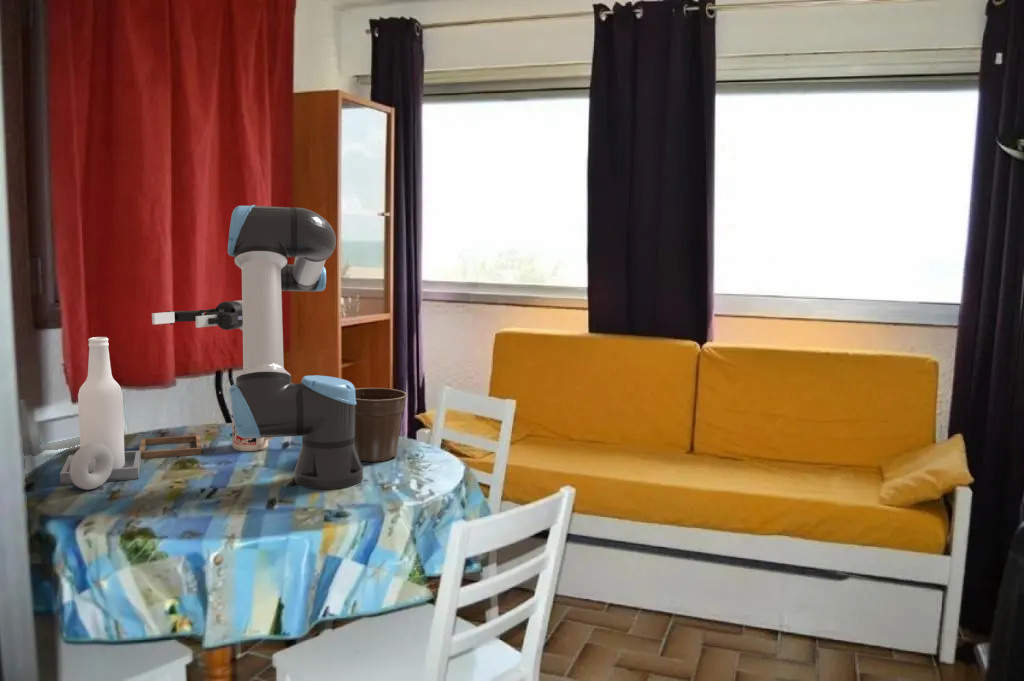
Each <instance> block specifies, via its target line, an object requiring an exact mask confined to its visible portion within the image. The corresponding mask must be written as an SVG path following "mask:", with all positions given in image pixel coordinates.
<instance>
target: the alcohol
mask: <svg viewBox="0 0 1024 681" xmlns="http://www.w3.org/2000/svg"><path fill="white" fill-rule="evenodd" d="M87 340H88V348H89V349H88V361H87V362H88V365H87V366H88V367H87V376H86V380H85V381H84V382H83V383H82V385H81V386H80V387H79V390H78V394H77V401H78V402H77V403H78V404H77V405H78V406H77V407H78V427H79V428H78V430H79V433H78V434H79V449H80V448H81V447H82V446H84V445H86V444H88V443H94V442H98V443H102V444H104V445H106V446H107V447H108V448H109V449H110V451H111V453H112V455H113V468H123V466H124V464H125V454H124V451H125V431H124V428H125V427H124V404H123V403H124V402H123V401H124V400H123V399H124V397H123V396H124V395H123V390H122V387H121V386H120V384H119V383H118V382H117V381H116V380H115V379H114V377H113V375H112V374H113V373H112V367H111V366H112V365H111V359H110V351H109V338H108V337H107V336H95V337H90V338H88V339H87ZM95 466H96V460H95V458H93V459H92V460H91V461H90V462H89V465H88V470H94V469H95ZM113 468H112V469H113Z"/></svg>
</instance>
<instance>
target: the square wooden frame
mask: <svg viewBox="0 0 1024 681" xmlns="http://www.w3.org/2000/svg"><path fill="white" fill-rule="evenodd" d="M180 443H181V444H182V443H195V444H196V445H195V446H196V447H191V448H190V447H188V448H178V449H177V448H176V449H161V450H147V451H146V446H151V445H152V446H153V445H166V444H167V445H169V444H180ZM139 450H141V460H143V459H144V460H145V459H158V458H169V457H170V458H171V457H184V456H186V455H187V456H197V455H198V456H199V455H200V454H201V455H202V451H203V450H202V441H201V434H195V435H180V436H179V435H177V436H176V435H175V436H163V437H147V438H143V437H142V438H141V439H140V444H139Z"/></svg>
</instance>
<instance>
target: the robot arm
mask: <svg viewBox="0 0 1024 681" xmlns="http://www.w3.org/2000/svg"><path fill="white" fill-rule="evenodd" d="M228 232H229V233H228V242H227V254H228V255H229V256H230V257H234V264H235V265H236V266H237V267H238V268H239V269H240V270H241V300H233V301H232V300H230V301H229V300H228V301H222V302H220V303H218V304H217V306H216V307H215V308H209V309H199V310H178V311H177V310H176V311H175V310H174V311H173V310H172V311H170V310H168V311H166V312H155V313H154V312H153V313H151V322H152V323H151V324H152V325H163V324H169V325H172V326H173V324H174V323H177V322H182V323H183V322H184V323H185V322H195V328H198V329H199V328H207V327H216V326H218V327H219V328H220V329H222V330H225V331H226V330H227V331H231V330H237V329H240V331H242V370H241V371H240V372H239V373H238V375H236V377H235V384H232V385H229V390H228V391H229V396H230V404H231V405H230V406H231V412H232V413H233V419H234V425H235V430H236V433H237V435H238V436H239V437H241V438H258V439H261V438H266V437H274V438H282V437H286V438H287V437H301V436H302V438H301V439H302V440H301V441H302V443H301V444H302V445H301V450H300V454H299V455H298V459H297V462H296V465H295V468H294V471H293V472H294V473H293V474H294V476H293V477H294V478H293V480H294V482H295V484H296V485H298V486H300V487H304V488H309V489H316V490H330V489H332V490H333V489H341V488H342V489H343V488H346V487H351V486H353V485H358V483H360V482H361V481H362V480H363V478H364V475H363V474H364V471H363V470H364V469H363V468H364V467H363V465H362V461H361V460H360V458H359V455H358V452H357V449H356V446H355V405H356V397H355V389H356V387H355V385H354V384H353V383H352V382H351V381H349V380H347V379H344V378H340V377H334V376H328V375H319V374H316V375H305V376H303V377H302V379H301V382H299V383H293V382H292V375H291V373H289V371H287V370H286V369H285V366H284V365H285V364H284V333H283V332H284V331H283V330H284V329H283V306H282V305H283V299H282V297H283V295H282V292H312V293H314V292H323V291H325V289H326V284H327V270H326V267H325V263H326V261H327V259H329V258H330V257H331V256H332V255H333V253H334V251H335V249H336V245H337V236H336V232H335V230H334V229H333V227H332V226H331V224H330V222H328V220H326V218H324V217H323V216H322V215H320V214H318V213H317V212H316V211H313V210H311V209H308V208H303V207H296V206H295V207H288V206H286V207H285V206H268V205H267V206H265V205H263V206H262V205H255V204H252V205H238V206H236V207H235V208H234V209H233V211H232V213H231V218H230V224H229V231H228ZM288 258H294V263H293V264H288ZM232 413H231V414H232Z"/></svg>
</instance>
